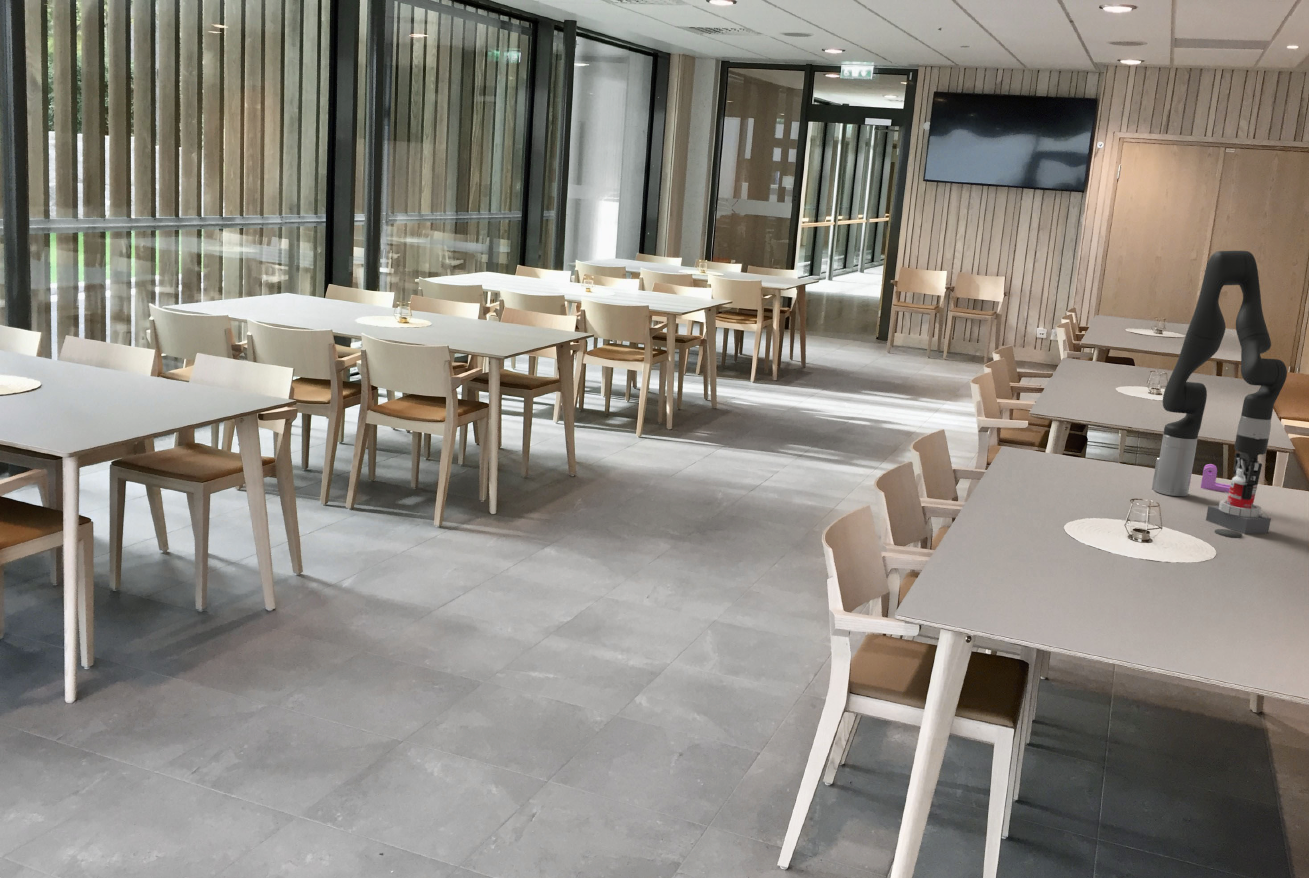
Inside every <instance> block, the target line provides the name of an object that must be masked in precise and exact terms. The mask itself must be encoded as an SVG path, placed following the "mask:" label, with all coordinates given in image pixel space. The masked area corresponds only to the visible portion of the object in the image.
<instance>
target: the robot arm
mask: <svg viewBox="0 0 1309 878" xmlns="http://www.w3.org/2000/svg"><path fill="white" fill-rule="evenodd" d="M1256 261H1257V260H1256V258H1255V256H1254V255H1253V253H1252V252H1250V251H1248V250H1219V251H1218V250H1217V251H1215V252H1213V253H1212V254H1211V256H1210V257H1209V258H1208V261H1207V264H1206V267H1205V271H1204V274H1203V275H1204V276H1203V278H1202V284H1201V287H1200V292H1199V296H1198V299H1197V304H1196V306H1195V309H1194V312H1193V315H1192V318H1191V321H1190V323H1189V325H1188V327H1187V330H1186V333H1185V337H1184V339H1183V340H1184V341H1183V342H1182V343H1183V344H1182V346H1181V349H1180V353H1179V356H1178V359H1177V361H1176V364H1175V367H1174V368H1173V370H1172V373H1171V375H1170V377H1169V379H1168V380H1167V381H1168V382H1167V384H1166V386H1165V389H1164V391H1163V395H1162V407H1163V409H1164V410H1165V411H1166V412H1170V413H1177V414H1185V416H1184V417H1182V418H1181V419H1179V420H1177V421H1173V422H1169V423H1167V424H1165V425H1164V429H1163V435H1162V441H1161V447H1160V453H1159V457H1157V458H1156V460H1155V467H1154V474H1153V478H1152V479H1153V480H1152V485H1151V490H1154V491H1155V492H1156V493H1159V494H1163V495H1166V496H1173V497H1188V496H1189V491H1190V486H1191V485H1190V484H1191V479H1192V474H1193V468H1194V461H1195V456H1196V455H1195V454H1196V451H1197V444H1198V437H1199V432H1200V429H1201V426H1202V420H1203V417H1204V412H1205V409H1206V403H1207V399H1208V398H1207V397H1208V392H1207V391H1208V390H1207V388H1206V385H1205V384H1204V383H1201V382H1193V381H1188V379H1189V378H1190V377H1191V375H1192V374H1193V373H1194V372H1195V371H1196V370H1197V369H1198V368H1200V367H1201V366H1202V365H1204V364H1205V363H1206V362H1208V360H1210V359H1211V358H1212V357H1213V356H1214V355H1215V354H1216V353H1217V352H1218V350H1219V349H1220V347H1221V344H1222V341H1223V338H1224V336H1225V333H1226V322H1225V318H1224V316H1223V313H1222V310H1221V307H1220V304H1219V300H1220V295H1221V292H1222V290H1223V287H1224V286H1239V288H1240V290H1241V292H1242V302H1241V305H1240V308H1239V310H1238V313H1237V316H1236V318H1235V331H1236V334H1237V339H1238V343H1239V344H1240V349H1241V352H1240V355H1241V356H1240V374H1241V377H1242V379H1243V380H1244V382H1245V383H1246V384H1248V385H1250V386H1260V387H1259V389H1258V391H1256V392H1254V393H1253V392H1252V393H1250V394H1249V393H1248V394H1247V395H1245V397H1244V399H1243V402H1242V403H1243V404H1242V410H1241V415H1240V418H1239V421H1238V426H1237V431H1236V436H1235V437H1236V438H1235V443H1234V450H1235V451H1236V452H1235V457H1234V464H1233V469H1232V475H1234V476H1233V477H1235V476H1237V473H1236V472H1237V469H1238V468H1240V469H1242V476H1243V477H1244V485H1243V490H1242V496H1241V498H1242V499H1245V500H1250V499H1251V496H1252V491H1253V486H1255V485H1257V486H1258V485H1259V480H1260V477H1261V476H1260V475H1261V471H1262V467H1263V465H1262V463H1261V462H1260V461H1259V460H1258V459H1259V456H1260V455H1261V456H1262V455H1266V454H1267V450H1268V445H1269V440H1270V432H1271V428H1272V416H1273V412H1274V405H1275V404H1276V402H1277V399H1278V397H1279V395H1280V393H1281V391H1282V389H1283V387H1284V385H1285V383H1286V381H1287V378H1288V370H1287V365H1286V364H1285V362H1284V361H1282V359H1277V358H1264V357H1263V358H1262V356H1261V355H1262V354H1264V353H1267V352H1268V351H1269V350H1270V349H1271V347H1272V341H1271V338H1270V333H1269V331H1268V328H1267V324H1266V321H1265V317H1264V312H1263V307H1262V306H1263V304H1262V295H1261V286H1260V280H1259V279H1260V277H1259V270H1258V265H1257V262H1256ZM1246 472H1248V473H1246ZM1255 477H1256V478H1255ZM1251 478H1252V480H1250V479H1251Z"/></svg>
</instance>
